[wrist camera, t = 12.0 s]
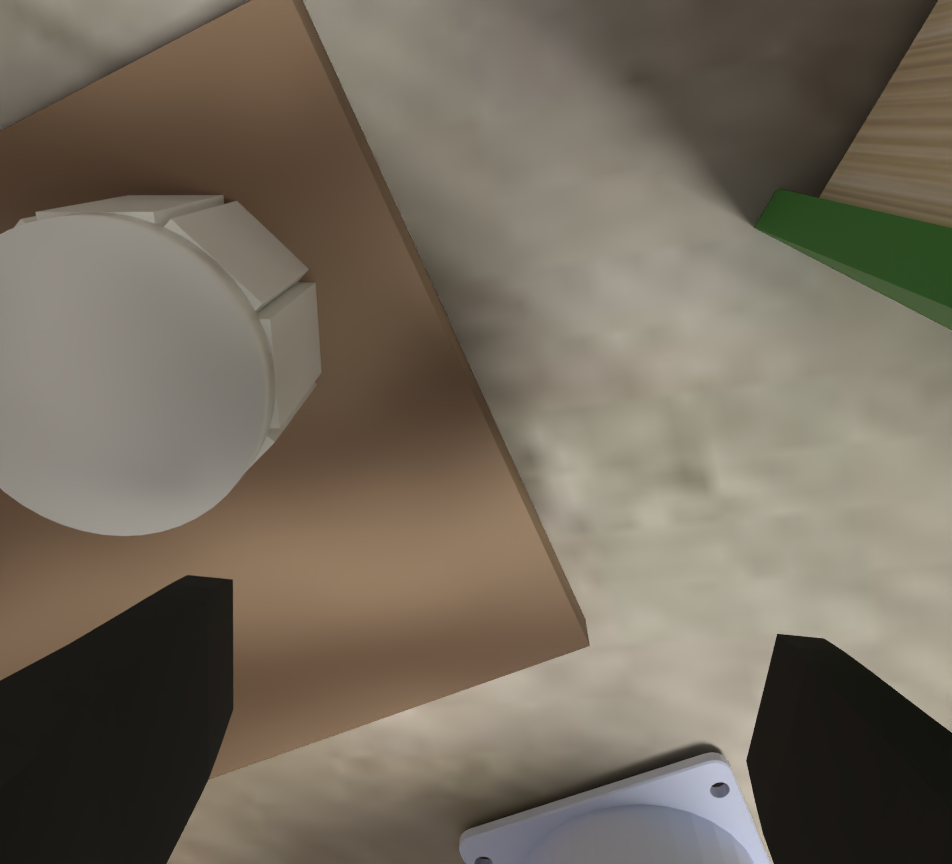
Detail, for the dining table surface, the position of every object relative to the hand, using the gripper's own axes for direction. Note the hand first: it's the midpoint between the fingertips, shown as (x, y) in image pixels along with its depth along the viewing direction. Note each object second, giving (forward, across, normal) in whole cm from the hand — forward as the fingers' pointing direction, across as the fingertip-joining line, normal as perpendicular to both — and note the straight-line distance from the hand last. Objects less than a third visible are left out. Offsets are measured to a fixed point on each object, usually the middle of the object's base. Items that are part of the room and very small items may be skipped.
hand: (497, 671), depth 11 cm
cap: (+8, +7, -2) cm, 11 cm away
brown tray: (+10, +9, +2) cm, 14 cm away
